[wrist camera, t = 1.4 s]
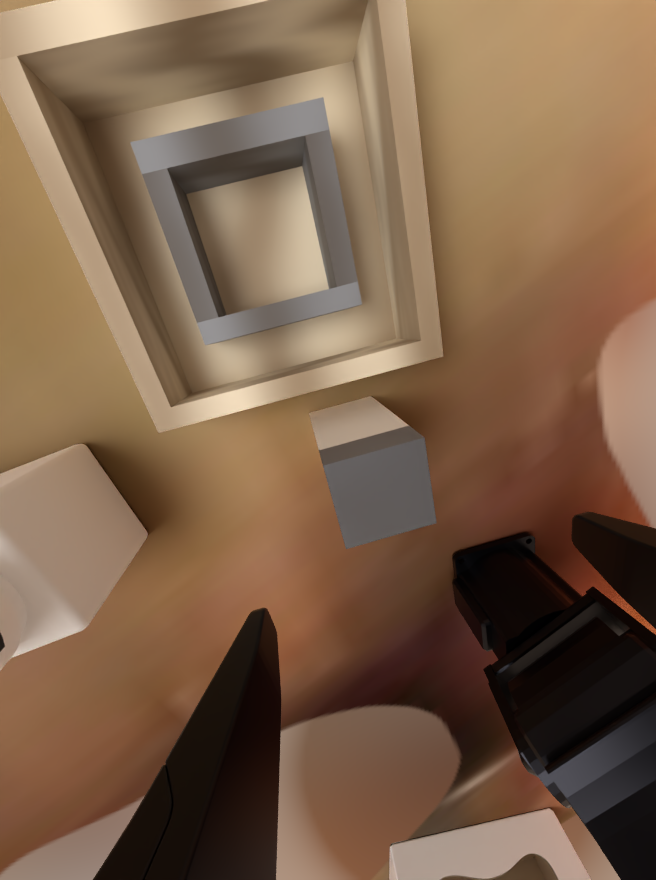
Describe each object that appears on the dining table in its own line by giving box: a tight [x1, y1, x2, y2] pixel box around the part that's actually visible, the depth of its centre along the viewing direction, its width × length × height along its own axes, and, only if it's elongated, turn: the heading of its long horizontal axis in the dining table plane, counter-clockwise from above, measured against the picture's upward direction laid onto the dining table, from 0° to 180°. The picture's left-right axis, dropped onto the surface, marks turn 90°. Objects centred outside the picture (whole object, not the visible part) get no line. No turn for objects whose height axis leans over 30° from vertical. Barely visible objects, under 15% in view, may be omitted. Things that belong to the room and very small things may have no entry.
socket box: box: [0, 0, 443, 433], centre depth 14 cm, size 14×14×4 cm
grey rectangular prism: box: [309, 396, 436, 549], centre depth 16 cm, size 4×4×8 cm
